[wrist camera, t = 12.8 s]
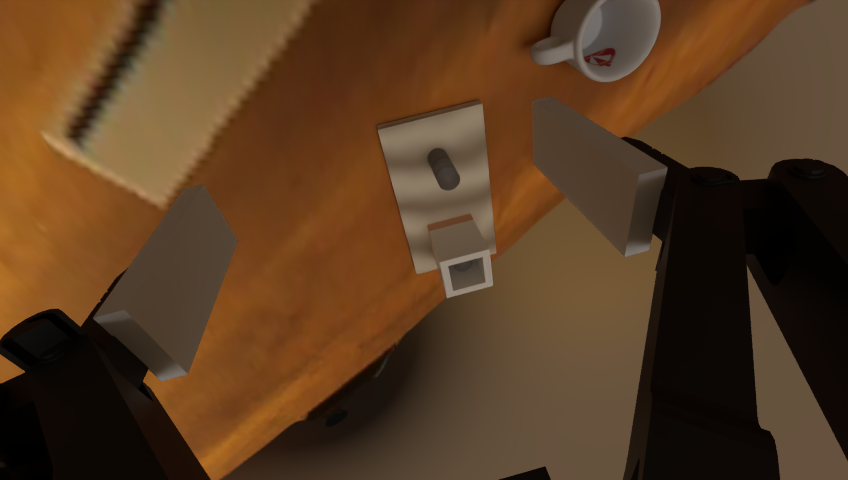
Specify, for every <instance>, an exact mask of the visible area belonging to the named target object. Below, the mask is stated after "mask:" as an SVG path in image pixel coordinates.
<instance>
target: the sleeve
mask: <svg viewBox="0 0 848 480" xmlns="http://www.w3.org/2000/svg"><path fill="white" fill-rule="evenodd" d="M427 228H428V232H429V237H430V241H431V245H432V250H433V254H434V258H435V262H436V265H437V268H438V271H439V274H440V277H441V280H442V283H443V286H444V289H445V293H446V296H447V298H449V297H453V296H456V295H460V294H463V293H467V292H471V291H475V290H478V289H482V288H486V287H490V286H493V279H492V270H491V261H490V251H489V248H488V246H487V244H486V242H485V240H484V238H483V236H482V235H481V233H480V231H479V229H478V227H477V225H476V223H475V221H474V219H473V217H472V216H471V214H466V215H463V216H459V217H455V218H451V219H447V220H444V221H440V222H436V223H432V224H428V225H427ZM469 260H472V266H471V267H470V268H469V269H468V270H466V271H462V272H460V271H457V270H456V269H455V268H454V266H453V265H454V264H458V263H462V262H466V261H469Z"/></svg>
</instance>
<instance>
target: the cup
mask: <svg viewBox="0 0 848 480" xmlns="http://www.w3.org/2000/svg"><path fill="white" fill-rule="evenodd" d="M660 20H661V13H660V6H659V3H658V0H565V1H564V2H563V4H562V5H561V6H560V7H559V9H558V10H557V12H556V14H555V16H554V19H553V22H552V26H551V37H548V38H546V39H543V40H541V41H538V42H536V43H535V44H533V45H532V47H531V49H530V55H531V59H532V60H533V62H535V63H536V64H539V65H550V64H555V63H558V62H561V61H566V62H567V63H568V64H570V65H571V66H573V67H574V68H575V69H577V70H578V71H580V72H581V73H582V74H584V75H585V76H587V77H588V78H590V79H592V80H594V81H598V82H611V81H615V80H618V79H620V78H623V77H625V76H626V75H628V74H629V73H631V72H632V71H634V70H635V69H636V68H637V67H638V66H639V65H640V64H641V63H642V62H643V61H644V59H645V58H646V57H647V55H648V54H649V52H650V51H651V49H652V47H653V45H654V43H655V41H656V38H657V36H658V32H659V28H660Z"/></svg>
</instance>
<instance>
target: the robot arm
mask: <svg viewBox="0 0 848 480" xmlns="http://www.w3.org/2000/svg"><path fill="white" fill-rule="evenodd" d="M533 164H534V165H535V166H536V167H537V168H538V169H539V170H540V171H541V172H542V173H543V174H544V175H545V176H546V177H547V178H548V179H549V180H550V181H551V182H552V183H553V184H554V185H555V186H556V187H557V189H558V190H559V191H560V192H561V193H562V194H563V195H564V196H565V197H566V198H567V199H568V200H569V201H570V202H571V203H572V204H573V205H574V206H575V207H576V208H577V209H578V210H579V211H580V212H581V213H582V214H583V215H584V216H585V217H586V218H587V219H588V220H589V221H590V222H591V223H592V224H593V225H594V226H595V227H596V228H597V229H598V230H599V231H600V232H601V233H602V234H603V235H604V236H605V237H606V238H607V239H608V240H609V241H610V242H611V243H612V245H614V247H615V248H617V249H618V251H619V252H620V253H621V254H622V255H623V256H624V257H626V256H630V255H633V254H637V253H641V252H644V251H648V250H649V248H650V244H651V240H652V235H653V234H654V235H655V236H657V237H658V238H659V239H660V240H661V241H662V245H661V249H660V253H659V258H658V261H657V265H656V269H655V270H656V271H657V273H656V280H655V287H654V292H653V299H652V305H651V312H650V318H649V324H648V331H647V337H646V343H645V350H644V356H643V362H642V369H641V375H640V381H639V388H638V394H637V400H636V407H635V414H634V419H633V426H632V432H631V438H630V445H629V451H628V457H627V463H626V468H625V473H624V477H623V480H780V474H779V464H778V455H777V450H776V444H775V440H774V438H773V436H772V435H771V432H770V431H767V430H764V429H762V428H761V427H760V425H759V423H758V417H757V405H756V391H755V376H754V362H753V348H752V334H751V321H750V307H749V293H748V278H747V266H748V268H749V270H750V272H751V273H752V276H753V278H754V279H755V281H756V283H757V285H758V287H759V289H760V291H761V293H762V295H763V297H764V299H765V301H766V303H767V305H768V307H769V309H770V310H771V313H772V314H773V316H774V318H775V320H776V322H777V324H778V326H779V328H780V330H781V332H782V334H783V336H784V338H785V340H786V342H787V344H788V346H789V348H790V349H791V351H792V353H793V355H794V357H795V359H796V361H797V363H798V365H799V367H800V369H801V371H802V373H803V375H804V377H805V378H806V381H807V383H808V384H809V386H810V388H811V390H812V392H813V394H814V396H815V398H816V400H817V402H818V404H819V406H820V408H821V410H822V411H823V414H824V416H825V418H826V419H827V421H828V423H829V425H830V427H831V429H832V431H833V433H834V435H835V437H836V439H837V441H838V443H839V445H840V446H841V448H842V451H843V452H844V454H845V456H846V458H847V460H848V176H847V175H846V174H845V173H844V172H843V171H841V170H840V169H838V168H837V167H835V166H833V165H830V164H827V163H824V162H823V161H820V160H813V159H789V160H783V161H780V162H777V163H775V164H774V165H773V167H772V168H771V171H770V173H769V176H768V178H767V179H756V180H741V181H740V180H739V178H738V176H736V175H735V174H733V173H732V172H730V171H727V170H724V169H721V168H714V167H695V168H690V169H689V168H687V167H685V166H684V165H682V164H680V163H678V162H677V161H675V160H673V159H671V158H670V157H668V156H666V155H665V154H661V152H659V151H658V150H656V149H652V147H651V146H649V145H647V144H646V143H644V142H642V141H640V140H636V139H632V138H628V137H622V138H619V137H617V136H616V135H614V134H612V133H611V132H609V131H607V130H606V129H604V128H603V127H601V126H599V125H598V124H596V123H594V122H593V121H591V120H589V119H588V118H586V117H585V116H583V115H581V114H580V113H578V112H576V111H575V110H573V109H571V108H570V107H568V106H567V105H565V104H563V103H562V102H560V101H558V100H557V99H555V98H553V97H552V96H550V97H546V98H542V99H538V100H534V101H533ZM237 242H238V239H237V238H236V236H235V235H234V233H233V231H232V230H231V228H230V226H229V225H228V223H227V222H226V220H225V218H224V217H223V215H222V214H221V212H220V210H219V209H218V207H217V205H216V204H215V202H214V201H213V199H212V197H211V196H210V194H209V193H208V191H207V189H206V188H205V186H204V184H203V185H199V186H195V187H191V188H187V189H184V190H183V191H182V192H181V194H180V195H179V197H178V198H177V199H176V201H175V202H174V204H173V205H172V207H171V208H170V209H169V211H168V212H167V214H166V215H165V216H164V218H163V219H162V221H161V222H160V224H159V225H158V226H157V228H156V229H155V231H154V232H153V233H152V235H151V236H150V238H149V239H148V241H147V242H146V243H145V245H144V246H143V248H142V249H141V250H140V252H139V253H138V255H137V256H136V258H135V259H134V260H133V262H132V263H131V265H130V266H129V267H128V268H127V269H126V270H125V271H124V272H122V273H121V274H120V275H119V276H118V277H117V278H116V279H115V280H114V282H113V283H112V284H111V286H110V287H109V288H108V290H107V291H108V292H106V293H105V294H104V295H103V297H102V298H101V300H100V301H101V302H99V303H98V304H97V305H96V306H95V308H94V309H93V311H92V312H91V313H90V315H89V316H88V318H87V319H86V320H85V322H84V323H83V324H82V326H81V327H80V326H79V325H77V324H76V323H75V322H74V321H73V320H72V319H71V318H69V317H68V316H67V315H66V314H65V313H64V312H63V311H61V310H59V309H49V310H46V311H43V312H40V313H37V314H35V315H33V316H31V317H29V318H27V319H25V320H24V321H22V322H21V323H19V324H18V325H16V326H15V327H13V328H12V329H11V330H10V331H9V332H7V333H6V334H5V335H4V336H3V337H2V338H1V340H0V354H1V355H2V356H4V357H5V358H7V359H8V360H9V361H11V362H12V363H14V364H15V365H17V366H18V367H20V368H21V369H22V370H24V371H25V373H23V374H21V375H19V376H17V377H14V378H12V379H10V380H8V381H6V382H4V383H0V480H211V479H210V478H209V476H208V475H207V473H206V472H205V470H204V469H203V467H202V466H201V464H200V463H199V461H198V460H197V458H196V457H195V455H194V454H193V452H192V451H191V449H190V447H189V446H188V444H187V443H186V441H185V440H184V438H183V437H182V435H181V434H180V432H179V431H178V429H177V428H176V426H175V425H174V423H173V422H172V420H171V419H170V417H169V416H168V414H167V413H166V411H165V410H164V408H163V407H162V405H161V404H160V402H159V400H158V399H157V397H156V396H155V394H154V393H153V391H152V390H151V388H149V387H148V386H147V385H146V384H145V383H144V382H143V379H144V377H145V375H146V373H147V371H148V369H149V370H150V371H151V372H152V373H153V374H154V375H155V376H156V377H157V378H158V379H159V380H161V381H165V380H168V379H172V378H176V377H179V376H183V375H187V374H188V373H189V370H190V367H191V365H192V362H193V359H194V357H195V354H196V351H197V349H198V346H199V343H200V341H201V338H202V335H203V333H204V330H205V327H206V325H207V322H208V319H209V317H210V314H211V311H212V309H213V306H214V303H215V301H216V298H217V295H218V293H219V290H220V287H221V285H222V282H223V279H224V277H225V274H226V271H227V269H228V266H229V263H230V261H231V258H232V255H233V253H234V250H235V247H236V245H237ZM500 480H551V479H550V477H549V474H548V472H547V469H546V467H542V468H538V469H535V470H531V471H528V472H524V473H521V474H517V475H514V476H510V477H507V478H503V479H500Z"/></svg>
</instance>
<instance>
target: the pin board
mask: <svg viewBox="0 0 848 480" xmlns="http://www.w3.org/2000/svg"><path fill="white" fill-rule="evenodd" d="M377 129H378V133H379V137H380V141H381V144H382V148H383V152H384V155H385V159H386V163H387V166H388V170H389V174H390V177H391V181H392V185H393V188H394V192H395V196H396V199H397V203H398V207H399V210H400V214H401V218H402V221H403V225H404V229H405V232H406V236H407V240H408V243H409V247H410V251H411V254H412V258H413V262H414V266H415V269H416V273H417V274H420V273H424V272H428V271H431V270H435V269H438V268H437V265H436V262H435V258H434V254H433V250H432V245H431V241H430V237H429V232H428V228H427V225H428V224H432V223H436V222H440V221H444V220H447V219H451V218H455V217H459V216H463V215H466V214H471V216H472V217H473V219H474V221H475V223H476V225H477V227H478V229H479V231H480V233H481V235H482V236H483V238H484V240H485V242H486V244H487V246H488V248H489V251H490V255H492V254H495V253H496V245H495V234H494V223H493V212H492V202H491V191H490V180H489V170H488V159H487V148H486V138H485V127H484V116H483V106H482V103H481V102H480V101H479V100H476V101H472V102H468V103H464V104H460V105H456V106H452V107H448V108H444V109H440V110H436V111H432V112H428V113H424V114H420V115H416V116H412V117H408V118H404V119H400V120H397V121H393V122H389V123H385V124H381V125H377ZM453 266H454V268H455V269H456V270H457V271H460V272H462V271H466V270H468V269H469V268H470V267H471V266H472V260H469V261H466V262H462V263H458V264H454V265H453Z"/></svg>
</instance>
